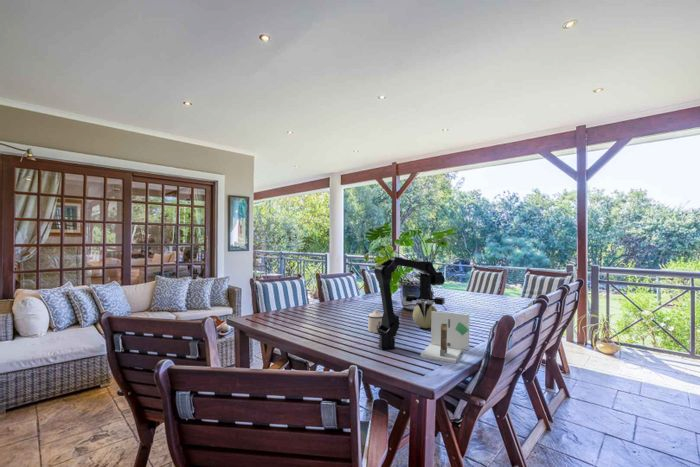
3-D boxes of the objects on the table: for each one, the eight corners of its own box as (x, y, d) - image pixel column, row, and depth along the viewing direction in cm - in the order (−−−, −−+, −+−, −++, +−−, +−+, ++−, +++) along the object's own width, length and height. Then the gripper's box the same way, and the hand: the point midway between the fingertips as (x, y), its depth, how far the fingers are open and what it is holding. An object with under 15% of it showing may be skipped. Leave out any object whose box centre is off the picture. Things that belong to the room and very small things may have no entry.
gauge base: (420, 357, 153) (421, 318, 153) (430, 345, 170) (431, 310, 170) (462, 364, 145) (463, 323, 145) (469, 351, 162) (469, 314, 162)
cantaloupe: (407, 327, 204) (407, 302, 204) (421, 323, 214) (421, 299, 215) (429, 332, 194) (429, 305, 194) (442, 328, 204) (443, 302, 204)
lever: (440, 353, 152) (440, 324, 153) (442, 351, 155) (442, 323, 156) (445, 354, 151) (445, 325, 152) (446, 352, 155) (447, 323, 155)
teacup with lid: (378, 334, 189) (379, 312, 189) (364, 331, 194) (365, 310, 194) (389, 329, 198) (389, 309, 199) (375, 327, 204) (376, 307, 204)
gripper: (447, 285, 179) (446, 315, 178) (411, 282, 187) (411, 311, 187) (442, 288, 169) (442, 320, 168) (405, 285, 177) (405, 315, 177)
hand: (424, 316), depth 175 cm, fingers closed
